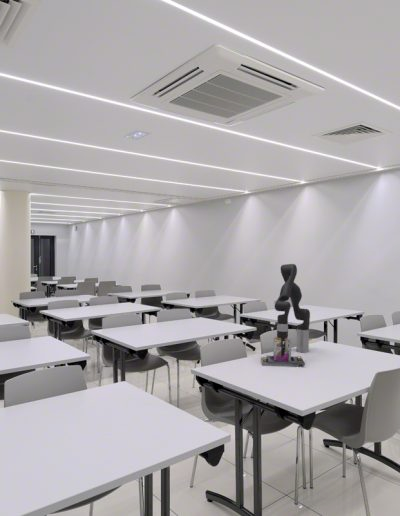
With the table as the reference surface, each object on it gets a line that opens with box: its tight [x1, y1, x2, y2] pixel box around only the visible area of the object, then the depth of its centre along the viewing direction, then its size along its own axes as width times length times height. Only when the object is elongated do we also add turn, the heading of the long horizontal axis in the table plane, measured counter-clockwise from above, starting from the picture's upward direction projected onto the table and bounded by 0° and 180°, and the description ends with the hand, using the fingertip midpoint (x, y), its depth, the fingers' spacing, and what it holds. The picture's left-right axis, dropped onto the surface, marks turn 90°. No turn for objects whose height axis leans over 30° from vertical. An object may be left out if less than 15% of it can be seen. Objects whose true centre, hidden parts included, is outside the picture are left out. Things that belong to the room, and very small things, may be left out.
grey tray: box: [260, 355, 305, 368], centre depth 270 cm, size 16×28×5 cm, turn 85°
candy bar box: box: [273, 335, 292, 361], centre depth 270 cm, size 11×5×16 cm, turn 58°
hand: (282, 354), depth 270 cm, fingers closed on candy bar box, 6 cm apart
